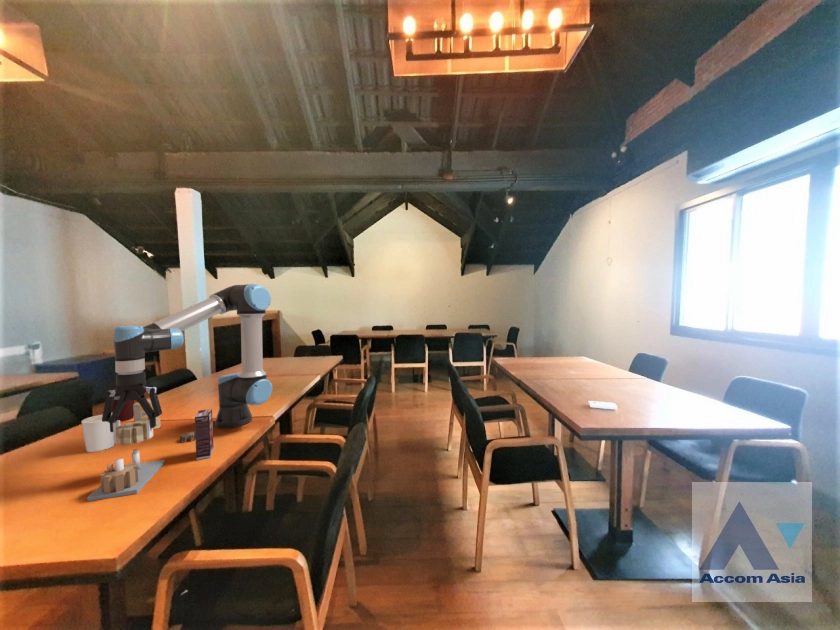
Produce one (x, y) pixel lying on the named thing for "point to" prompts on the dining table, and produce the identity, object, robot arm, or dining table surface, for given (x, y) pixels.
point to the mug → (124, 409)
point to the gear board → (136, 488)
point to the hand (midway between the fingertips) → (134, 439)
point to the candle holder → (97, 434)
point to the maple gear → (131, 433)
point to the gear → (187, 436)
